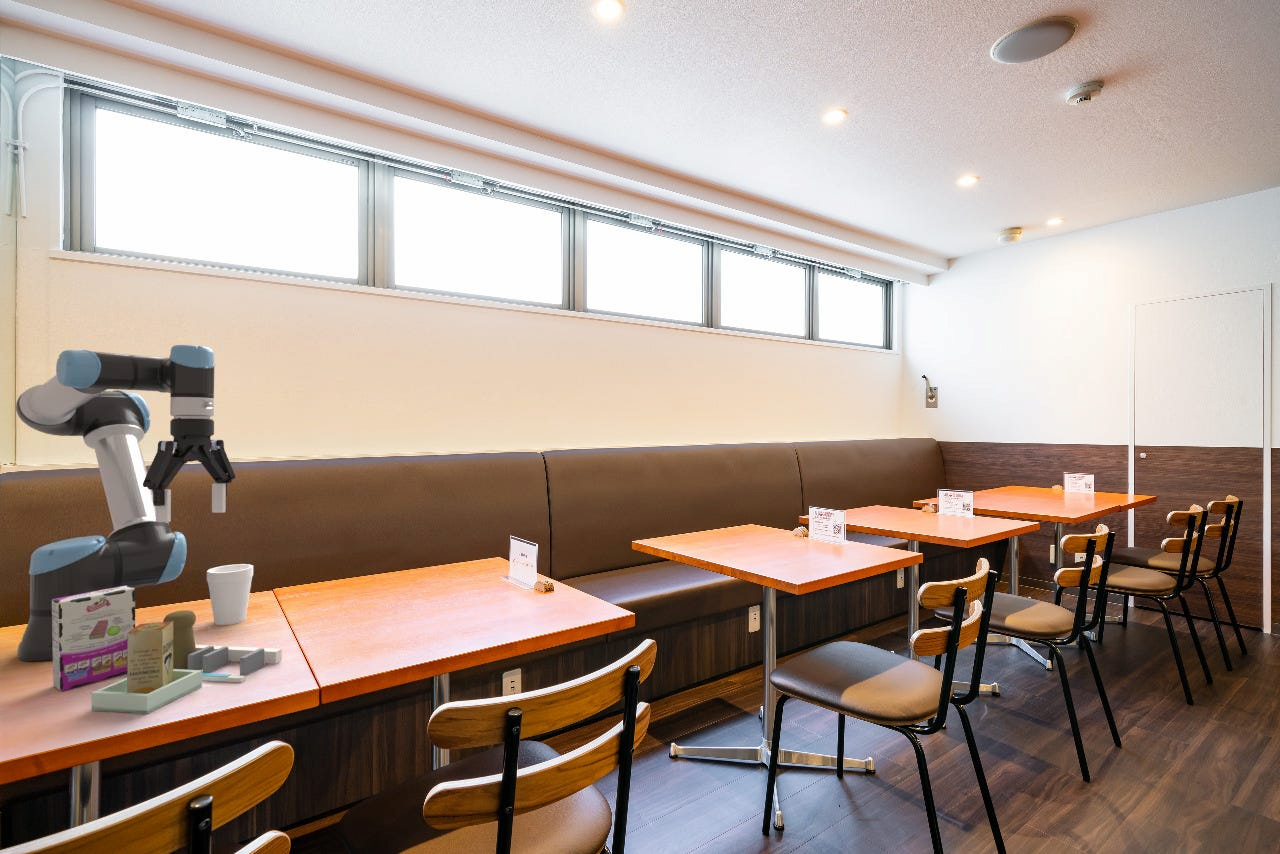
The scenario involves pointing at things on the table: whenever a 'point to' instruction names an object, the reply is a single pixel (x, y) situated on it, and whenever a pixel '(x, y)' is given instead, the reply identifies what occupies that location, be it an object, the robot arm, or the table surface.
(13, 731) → the table surface
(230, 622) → the foam cup
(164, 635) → the shoe polish box
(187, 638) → the cork
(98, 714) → the table surface
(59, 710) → the table surface
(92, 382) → the robot arm
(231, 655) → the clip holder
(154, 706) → the tray
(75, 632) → the candy bar box
